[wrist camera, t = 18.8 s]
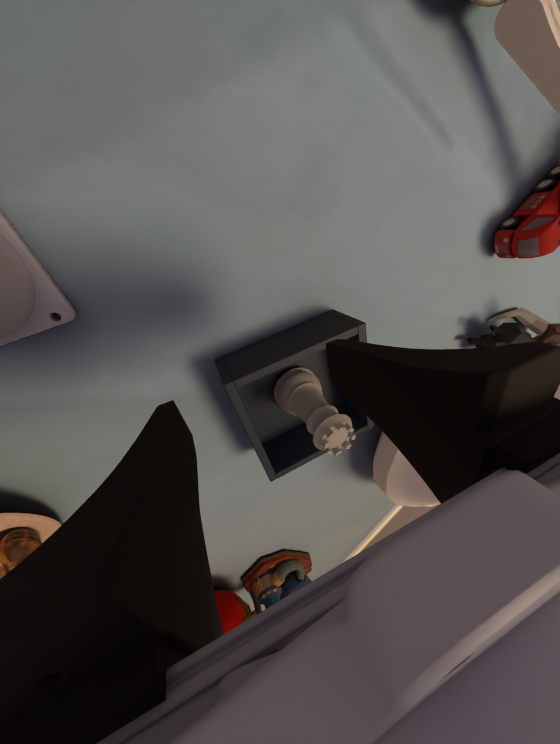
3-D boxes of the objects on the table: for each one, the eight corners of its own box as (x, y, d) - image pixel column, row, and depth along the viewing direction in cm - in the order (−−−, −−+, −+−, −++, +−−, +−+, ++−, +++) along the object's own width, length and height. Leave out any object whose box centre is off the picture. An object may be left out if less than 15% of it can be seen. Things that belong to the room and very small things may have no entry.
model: (320, 554, 42) (353, 624, 34) (284, 590, 43) (309, 665, 35) (271, 547, 36) (298, 631, 28) (231, 589, 37) (246, 681, 29)
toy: (547, 327, 23) (645, 353, 26) (511, 263, 26) (601, 294, 30) (447, 375, 32) (530, 389, 35) (430, 322, 35) (507, 341, 39)
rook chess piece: (321, 385, 25) (375, 437, 19) (287, 413, 25) (329, 474, 18) (300, 356, 23) (353, 402, 16) (263, 387, 23) (300, 446, 16)
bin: (256, 448, 26) (270, 482, 23) (214, 359, 20) (223, 385, 17) (347, 402, 28) (374, 427, 25) (333, 309, 22) (365, 322, 19)
